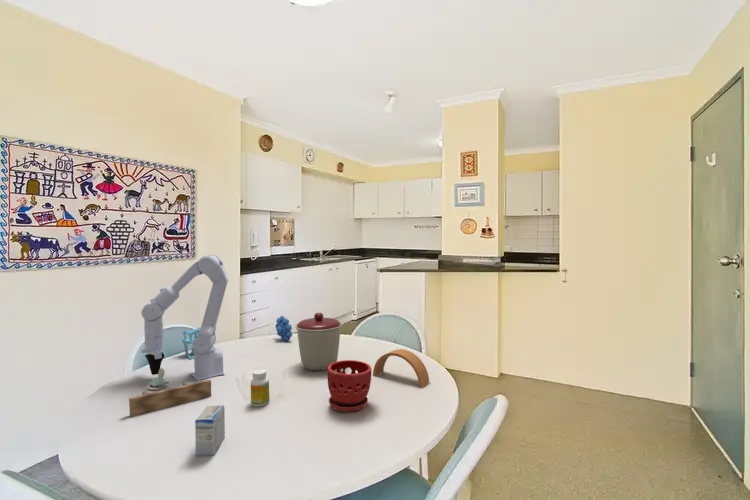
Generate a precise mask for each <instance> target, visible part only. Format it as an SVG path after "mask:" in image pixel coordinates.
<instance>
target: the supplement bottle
mask: <svg viewBox="0 0 750 500" xmlns="http://www.w3.org/2000/svg"><path fill="white" fill-rule="evenodd" d="M269 403H270V379H269V378H268V377H267V370H266V369H256V370H253V371H252V378H251V380H250V404H251V406H253V407H263V406H266V405H268V404H269Z"/></svg>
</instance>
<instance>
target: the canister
mask: <svg viewBox="0 0 750 500" xmlns="http://www.w3.org/2000/svg"><path fill="white" fill-rule="evenodd" d="M341 327H343V323H342V322H341V321H339V320H338V319H336V318H332V317H324V313H322V312H316V313H315V314H314V316H313V318H312V317H310V318H307V319H303V320H301V321H299V322H298V323H296V324H295V325H294V328H295V329H296V332H297V333H296V334H297V341H298V347H299V349H298V350H299V355H300V360H301V364H302V366H303V367H304V368H305V369H306V370H309V371H326V370H328V366H329V365H330V364H331V363H334V362H337V361H338V356H339V350H340V349H339V348H340V339H341V338H340V336H341Z"/></svg>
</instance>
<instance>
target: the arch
mask: <svg viewBox="0 0 750 500" xmlns="http://www.w3.org/2000/svg"><path fill="white" fill-rule="evenodd" d="M390 357H398V358H401V359H402V360H404V361H406V362H407V364H409V365H410V367H411V368H412V369H413V371H414V372H415V374H416V377H417V382H418V388H420V389H423V388H424V387H425V386H426V385H428V384H429V383H430V376H429V372H428V370H427V367H426V366H425V363H424V362H423V361H422V359H420V357H419V356H417V354H415V353H414V352H412V351H410V350H407V349H402V348H397V349H393V350H392V351H390V352H387V353H385V354H382V355H381V356H380V357H378V359H377V361H376V362H375V364H374V367H373V371H372V376H373V377H376V376H379V375H380V374H382V373H384V372H385V371H384V369H385V365H386V362H387V359H388V358H390Z"/></svg>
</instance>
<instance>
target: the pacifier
mask: <svg viewBox="0 0 750 500" xmlns="http://www.w3.org/2000/svg"><path fill="white" fill-rule="evenodd" d="M165 372H166V371H165V369H164V368H162V367H160V369H159V372H158V374H157V376H156V377H154V378H153V379H151V381H150V384H148V385H147V390H148V391H149V390H150V391H157V390H158V391H160V390H161V389H162V388H165V385H167V384H169V383H170V381H166V379H165V378H164V376H165Z"/></svg>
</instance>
